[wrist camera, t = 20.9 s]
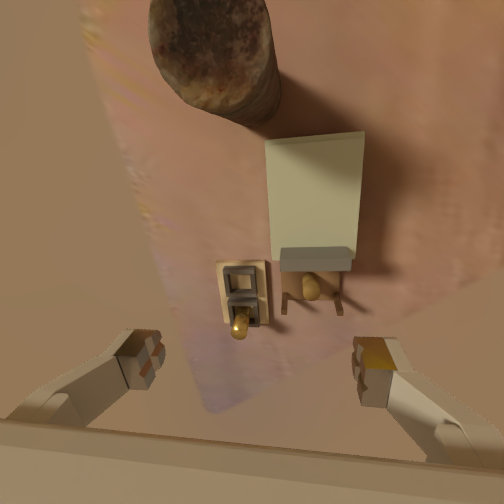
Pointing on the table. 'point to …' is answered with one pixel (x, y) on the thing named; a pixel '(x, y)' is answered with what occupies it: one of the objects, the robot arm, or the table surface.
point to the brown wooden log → (218, 56)
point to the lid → (314, 200)
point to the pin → (241, 322)
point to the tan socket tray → (243, 289)
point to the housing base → (324, 285)
